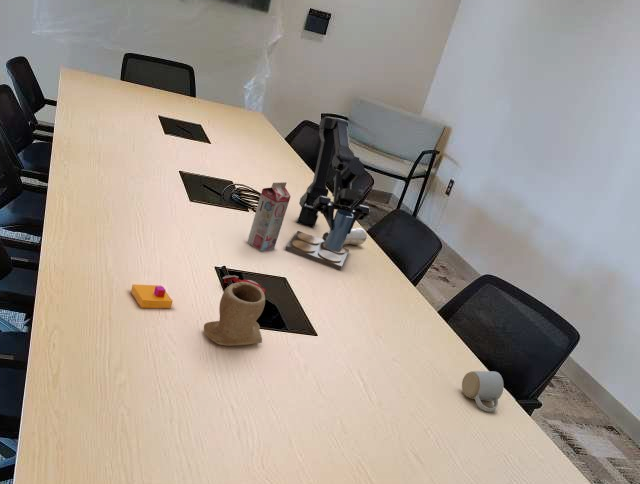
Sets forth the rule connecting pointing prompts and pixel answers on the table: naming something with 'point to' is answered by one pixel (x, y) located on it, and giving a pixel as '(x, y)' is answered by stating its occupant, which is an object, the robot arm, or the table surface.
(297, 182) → the table surface
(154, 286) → the orange tile with cube
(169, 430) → the table surface
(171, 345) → the table surface
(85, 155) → the table surface
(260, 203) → the juice carton
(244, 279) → the tracker holder
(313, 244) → the coaster board
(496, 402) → the ceramic mug
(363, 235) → the silver metal bottle
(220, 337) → the stone cup
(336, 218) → the tumbler
